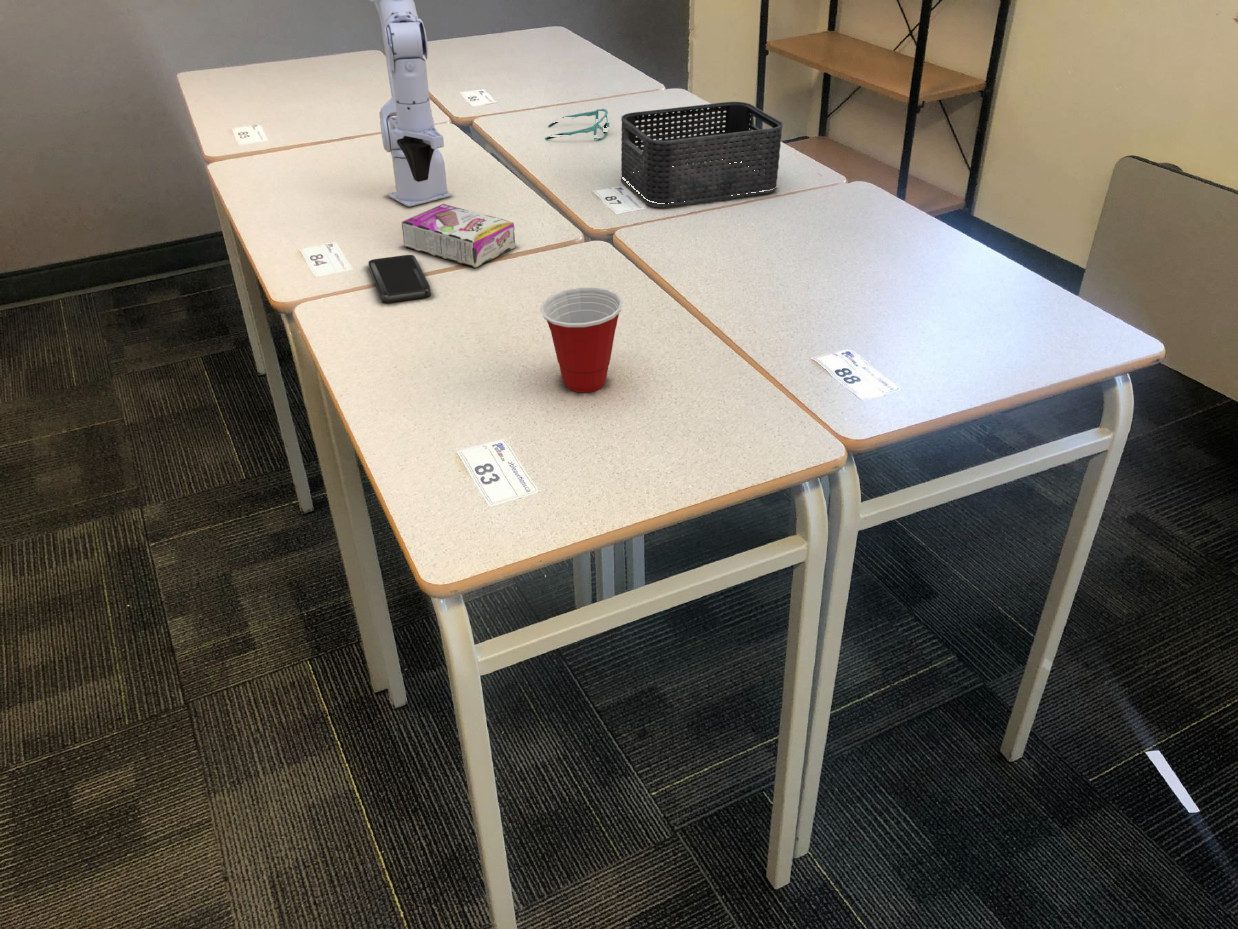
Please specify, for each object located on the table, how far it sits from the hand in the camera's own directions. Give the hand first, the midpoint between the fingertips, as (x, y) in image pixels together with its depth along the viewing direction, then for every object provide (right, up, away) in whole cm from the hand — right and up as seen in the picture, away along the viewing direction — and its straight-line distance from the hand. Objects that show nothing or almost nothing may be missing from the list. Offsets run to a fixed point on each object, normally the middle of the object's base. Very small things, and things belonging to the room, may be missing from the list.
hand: (421, 179), depth 167 cm
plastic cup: (+30, -39, -38) cm, 62 cm away
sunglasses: (+25, +27, +54) cm, 66 cm away
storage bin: (+51, +6, +26) cm, 58 cm away
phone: (-1, -20, -12) cm, 24 cm away
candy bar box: (0, -7, +1) cm, 8 cm away
